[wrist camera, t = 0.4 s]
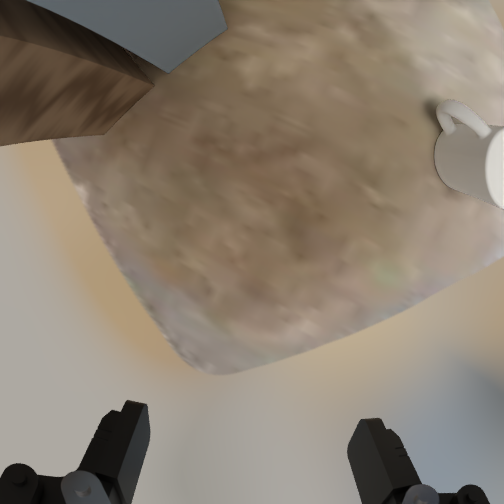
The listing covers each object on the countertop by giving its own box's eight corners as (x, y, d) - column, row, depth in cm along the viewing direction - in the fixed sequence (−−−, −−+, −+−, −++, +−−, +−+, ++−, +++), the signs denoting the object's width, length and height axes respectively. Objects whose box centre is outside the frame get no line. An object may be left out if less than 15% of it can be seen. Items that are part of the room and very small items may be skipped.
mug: (505, 228, 23) (452, 125, 20) (455, 203, 33) (402, 124, 30) (544, 178, 21) (497, 77, 18) (491, 163, 31) (444, 85, 28)
